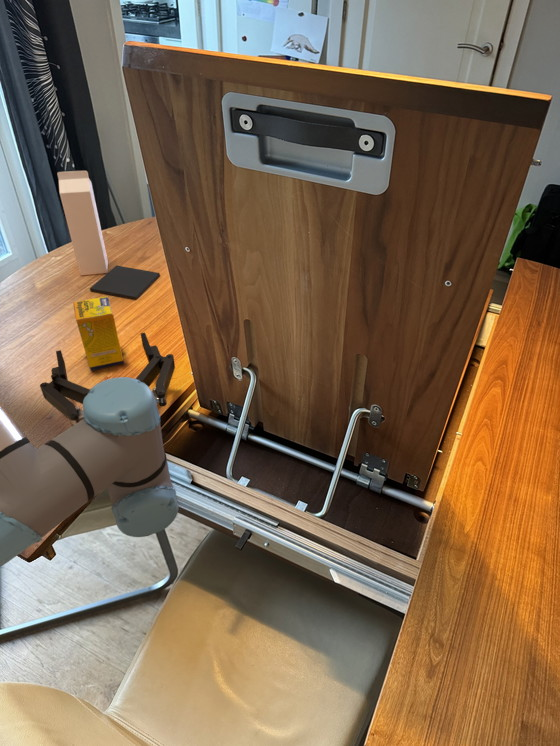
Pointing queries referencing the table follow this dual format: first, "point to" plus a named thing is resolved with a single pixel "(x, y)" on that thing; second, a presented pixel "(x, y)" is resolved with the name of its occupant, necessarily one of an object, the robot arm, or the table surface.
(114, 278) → the mat
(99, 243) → the milk
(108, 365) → the supplement box
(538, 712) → the table surface
